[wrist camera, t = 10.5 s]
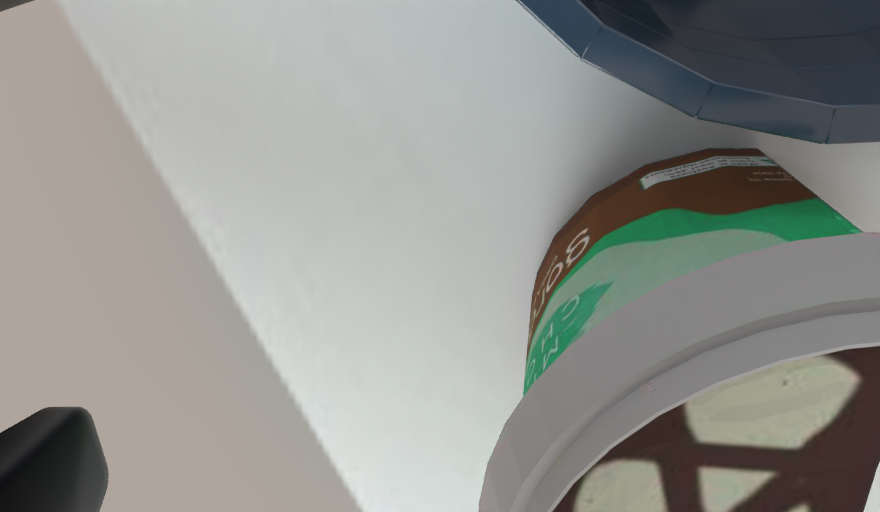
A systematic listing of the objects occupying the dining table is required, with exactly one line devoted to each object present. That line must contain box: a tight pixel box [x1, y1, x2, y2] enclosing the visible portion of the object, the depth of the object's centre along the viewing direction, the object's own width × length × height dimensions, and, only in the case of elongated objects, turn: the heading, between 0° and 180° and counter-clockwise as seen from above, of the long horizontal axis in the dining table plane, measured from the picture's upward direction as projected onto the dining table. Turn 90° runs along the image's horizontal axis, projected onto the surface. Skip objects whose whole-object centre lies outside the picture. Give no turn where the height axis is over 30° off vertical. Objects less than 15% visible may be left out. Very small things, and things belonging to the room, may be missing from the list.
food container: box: [479, 149, 880, 512], centre depth 18 cm, size 12×6×10 cm, turn 177°
